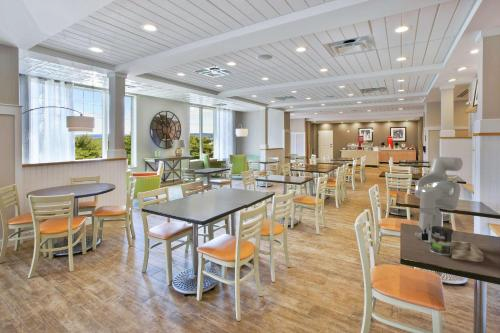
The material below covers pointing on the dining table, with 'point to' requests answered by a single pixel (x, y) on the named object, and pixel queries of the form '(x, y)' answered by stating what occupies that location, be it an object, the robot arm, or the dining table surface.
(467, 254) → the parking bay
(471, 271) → the dining table surface
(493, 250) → the dining table surface
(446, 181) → the robot arm
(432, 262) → the dining table surface
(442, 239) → the coffee can
